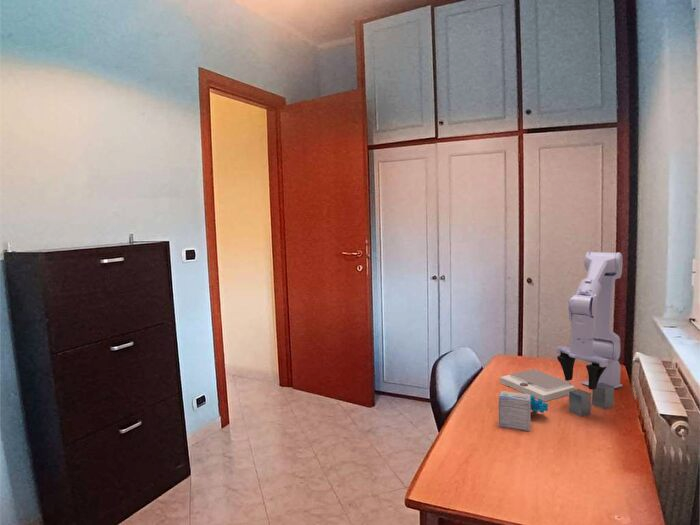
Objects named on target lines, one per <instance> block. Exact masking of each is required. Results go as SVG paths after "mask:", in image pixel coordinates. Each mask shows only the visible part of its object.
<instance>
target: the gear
mask: <svg viewBox="0 0 700 525" xmlns="http://www.w3.org/2000/svg"><path fill="white" fill-rule="evenodd" d="M521 393H522V392H521ZM522 394H524V393H522ZM531 411H532V412H533V413H538V412H540V413H541V414H543V413H545V412H548V411H549V404H548V403H547V402H543V400H542V399H536V398H535V396H532V395H531Z"/></svg>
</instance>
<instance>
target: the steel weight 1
mask: <svg viewBox="0 0 700 525" xmlns="http://www.w3.org/2000/svg"><path fill="white" fill-rule="evenodd" d="M568 412H569V413H571V414H574V415H576V416H578V417H581V418H582V417H585V416H588V415H591V414H592V392H588V391H586V390H584V389H580V388H577V389H576V388H575V390H573V391H569V395H568Z"/></svg>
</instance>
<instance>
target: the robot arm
mask: <svg viewBox="0 0 700 525" xmlns="http://www.w3.org/2000/svg"><path fill="white" fill-rule="evenodd" d="M583 261H584V262H583V264H584V269H585V271H586V272H587V274H586V277H585V278H583V279H582V280H580V281H579V282H580V283H579V284H578V288H577V289H576V291H575V294H573V295H570V296H569V300H568V303H567V304H568V305H567V308H568V314H569V315H568V316H569V317H568V319H569V321H570V344H569V346H564V345H560V346H559V345H558V346H557V347H556V353H557V354H559V355H557V357H556V359H557V361H558V362H559V364H560V367H561V369H562V371H563V375H564V380H565V381H568V382H570V381H573V377H574V367H575V360H576V359H578V360H581V361H584V362H587V363H588V364H587V365H586V366H585V368H586V371H587V375H588V376H587V378H588V379H587V380H585V381H582V382H581V383H582V385H585V386H587V387H588V389H589V390H591V391H592V390H593V389H596V387H597V384H598V383H601V382H602V383H605V384H608V385H611V386H614V389H618V388H621V387H623V386H624V385H623V384H622V383H621V364H620V362H619V359H620V356H621V337H620V336H619V335H618V334H617V333H615V331H613V330H612V316H613V315H612V314H613V298H614V285H615V282H616V280H618V279H621V278H622V274H623V263H624V262H623V261H624V260H623V254H622V253H621V252H618V251H617V252H602V251H597V252H596V251H587V252H586V253H585V256H584V260H583Z"/></svg>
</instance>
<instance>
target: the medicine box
mask: <svg viewBox="0 0 700 525" xmlns="http://www.w3.org/2000/svg"><path fill="white" fill-rule="evenodd" d="M531 411H532V410H531V395H529V394H522V392H513V391H505V390H500V391H499V395H498V427H502V428H508V429H513V430H519V431H526V432H530V429H531V414H532V413H531Z"/></svg>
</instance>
